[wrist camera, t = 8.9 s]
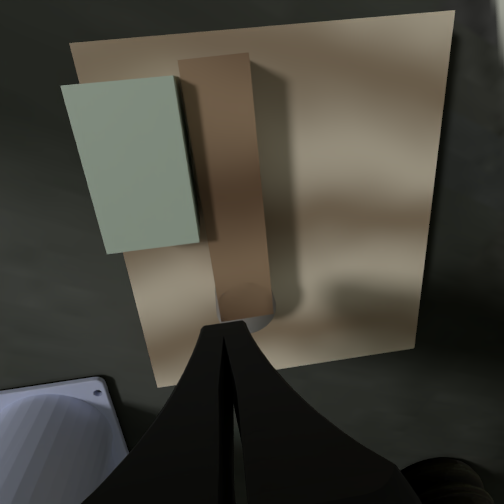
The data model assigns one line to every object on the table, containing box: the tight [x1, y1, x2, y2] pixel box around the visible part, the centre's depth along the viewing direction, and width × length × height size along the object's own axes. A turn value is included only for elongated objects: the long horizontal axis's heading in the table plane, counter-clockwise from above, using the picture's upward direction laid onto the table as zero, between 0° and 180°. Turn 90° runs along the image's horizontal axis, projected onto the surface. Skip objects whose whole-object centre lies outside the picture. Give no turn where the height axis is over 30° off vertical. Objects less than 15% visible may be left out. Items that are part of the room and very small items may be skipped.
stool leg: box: [177, 52, 276, 333], centre depth 16 cm, size 12×3×2 cm, turn 6°
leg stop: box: [61, 75, 200, 254], centre depth 15 cm, size 6×4×3 cm, turn 5°
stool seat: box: [69, 10, 455, 388], centre depth 19 cm, size 18×16×2 cm
